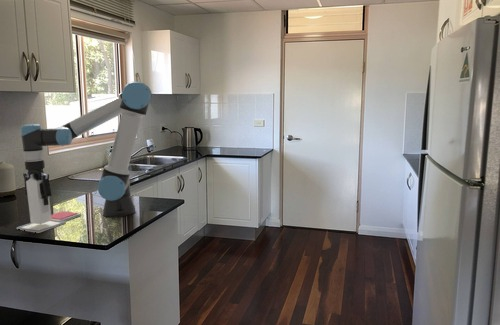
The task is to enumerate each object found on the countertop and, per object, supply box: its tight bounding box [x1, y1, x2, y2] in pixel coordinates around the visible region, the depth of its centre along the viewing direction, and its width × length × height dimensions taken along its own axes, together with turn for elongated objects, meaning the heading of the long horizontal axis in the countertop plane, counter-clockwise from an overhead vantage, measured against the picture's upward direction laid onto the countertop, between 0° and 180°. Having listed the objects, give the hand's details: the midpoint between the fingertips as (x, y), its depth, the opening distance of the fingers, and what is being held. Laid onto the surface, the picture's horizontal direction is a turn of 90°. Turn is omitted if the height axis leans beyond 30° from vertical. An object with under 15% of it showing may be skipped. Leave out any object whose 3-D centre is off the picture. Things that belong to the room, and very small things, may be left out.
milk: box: [26, 174, 52, 224], centre depth 181 cm, size 6×6×22 cm
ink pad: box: [51, 210, 82, 222], centre depth 194 cm, size 12×12×2 cm
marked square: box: [16, 220, 67, 234], centre depth 182 cm, size 14×14×1 cm
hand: (40, 211), depth 181 cm, fingers closed on milk, 6 cm apart
